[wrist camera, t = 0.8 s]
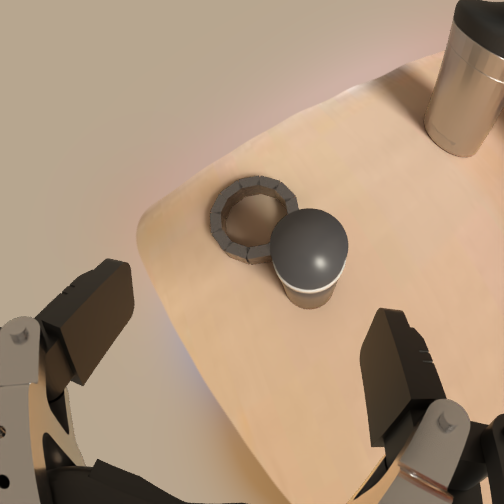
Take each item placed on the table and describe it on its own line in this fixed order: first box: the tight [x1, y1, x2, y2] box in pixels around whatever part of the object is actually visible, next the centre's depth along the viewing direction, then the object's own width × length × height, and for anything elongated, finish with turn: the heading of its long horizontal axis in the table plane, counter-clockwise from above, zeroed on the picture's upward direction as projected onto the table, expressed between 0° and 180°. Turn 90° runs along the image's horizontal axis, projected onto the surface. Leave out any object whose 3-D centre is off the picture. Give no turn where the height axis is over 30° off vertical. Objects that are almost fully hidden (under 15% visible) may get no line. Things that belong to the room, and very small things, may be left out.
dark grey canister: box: [270, 209, 348, 309], centre depth 24 cm, size 5×5×12 cm
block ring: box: [210, 176, 299, 265], centre depth 32 cm, size 9×9×2 cm
